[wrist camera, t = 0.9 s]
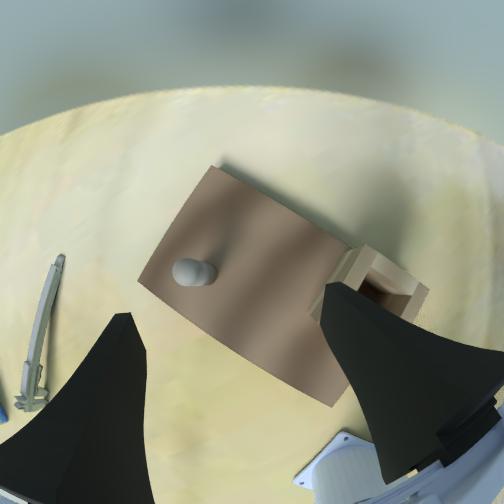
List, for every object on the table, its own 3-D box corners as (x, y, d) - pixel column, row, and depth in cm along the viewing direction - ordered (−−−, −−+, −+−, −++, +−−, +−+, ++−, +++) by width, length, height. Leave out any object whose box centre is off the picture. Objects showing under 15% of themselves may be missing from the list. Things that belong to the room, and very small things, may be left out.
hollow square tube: (393, 288, 20) (429, 289, 14) (360, 345, 20) (387, 365, 14) (342, 254, 21) (365, 243, 15) (306, 312, 21) (317, 323, 15)
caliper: (50, 404, 24) (19, 418, 18) (45, 400, 24) (14, 413, 18) (66, 257, 25) (27, 250, 19) (61, 254, 26) (22, 247, 19)
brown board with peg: (401, 287, 22) (446, 288, 14) (328, 401, 21) (346, 442, 14) (215, 171, 24) (192, 131, 17) (144, 281, 24) (97, 279, 17)
